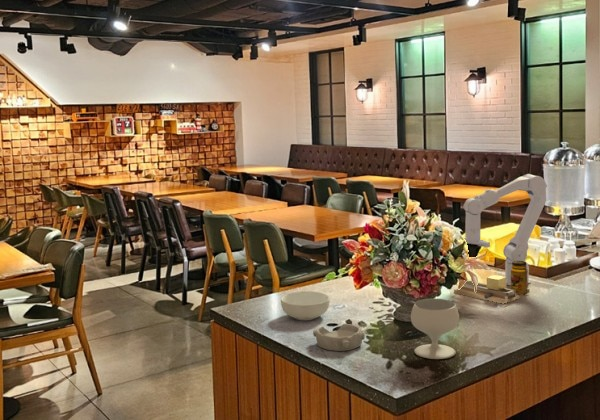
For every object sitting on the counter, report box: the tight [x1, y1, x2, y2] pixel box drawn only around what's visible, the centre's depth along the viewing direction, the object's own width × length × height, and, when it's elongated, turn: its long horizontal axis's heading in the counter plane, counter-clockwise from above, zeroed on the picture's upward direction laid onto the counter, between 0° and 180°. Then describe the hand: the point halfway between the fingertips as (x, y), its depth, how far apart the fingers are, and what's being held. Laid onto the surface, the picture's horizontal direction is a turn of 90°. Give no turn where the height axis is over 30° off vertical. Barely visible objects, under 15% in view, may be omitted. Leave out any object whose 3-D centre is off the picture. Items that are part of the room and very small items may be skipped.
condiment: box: [510, 261, 531, 296], centre depth 270 cm, size 7×8×12 cm
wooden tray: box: [453, 279, 520, 305], centre depth 267 cm, size 12×22×4 cm, turn 40°
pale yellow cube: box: [486, 274, 507, 291], centre depth 263 cm, size 5×5×5 cm
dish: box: [312, 323, 366, 352], centre depth 218 cm, size 14×14×5 cm
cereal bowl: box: [280, 290, 330, 321], centre depth 247 cm, size 17×17×7 cm
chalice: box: [410, 298, 460, 360], centre depth 208 cm, size 14×14×15 cm
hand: (472, 262), depth 280 cm, fingers closed
